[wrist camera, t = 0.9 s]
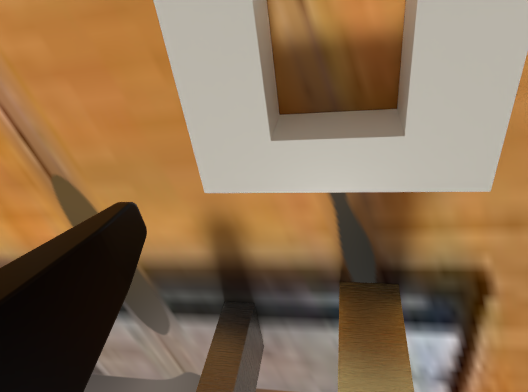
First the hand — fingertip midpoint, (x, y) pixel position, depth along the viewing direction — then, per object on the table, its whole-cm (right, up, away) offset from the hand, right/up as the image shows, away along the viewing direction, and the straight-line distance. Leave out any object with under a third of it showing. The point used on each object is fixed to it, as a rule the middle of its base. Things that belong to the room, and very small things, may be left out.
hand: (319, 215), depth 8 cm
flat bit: (-3, -11, +24) cm, 26 cm away
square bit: (+6, -7, +19) cm, 22 cm away
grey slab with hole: (+2, +7, +9) cm, 12 cm away
